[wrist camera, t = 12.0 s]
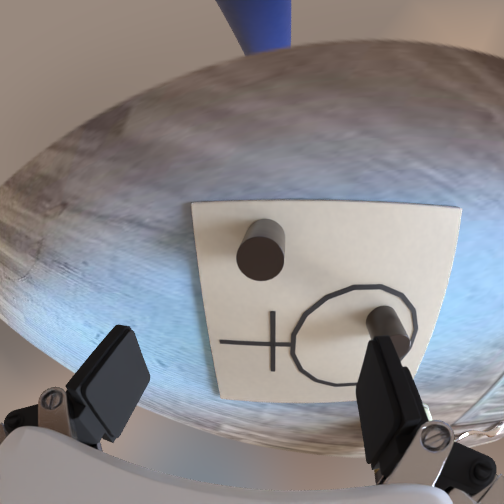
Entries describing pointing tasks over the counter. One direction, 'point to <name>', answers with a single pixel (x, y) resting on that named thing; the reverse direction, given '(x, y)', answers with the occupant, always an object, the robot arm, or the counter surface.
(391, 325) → the dot
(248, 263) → the dot
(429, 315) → the board
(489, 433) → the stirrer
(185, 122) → the counter surface
